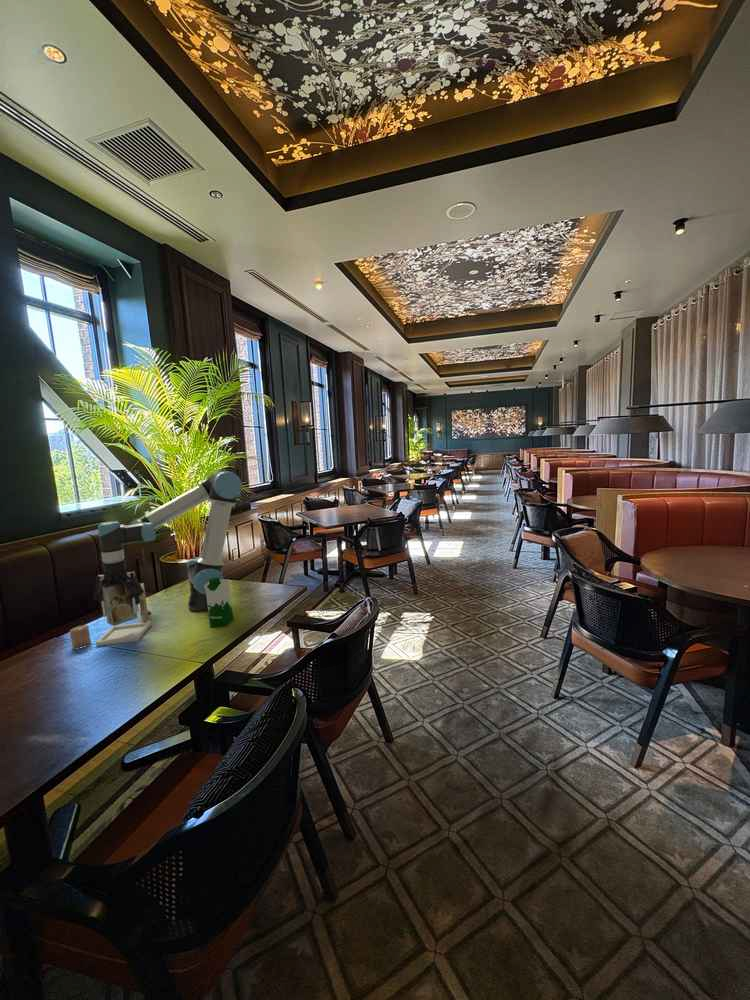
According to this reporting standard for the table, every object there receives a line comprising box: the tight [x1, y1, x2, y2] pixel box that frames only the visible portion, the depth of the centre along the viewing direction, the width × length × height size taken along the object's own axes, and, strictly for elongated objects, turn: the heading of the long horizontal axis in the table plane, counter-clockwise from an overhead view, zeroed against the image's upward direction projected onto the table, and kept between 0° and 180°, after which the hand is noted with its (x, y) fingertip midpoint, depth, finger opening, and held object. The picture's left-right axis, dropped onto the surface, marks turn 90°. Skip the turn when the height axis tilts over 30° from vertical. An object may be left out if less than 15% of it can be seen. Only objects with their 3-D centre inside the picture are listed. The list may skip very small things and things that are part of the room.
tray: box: [95, 620, 152, 647], centre depth 170 cm, size 15×15×2 cm
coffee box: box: [101, 579, 138, 627], centre depth 168 cm, size 9×6×16 cm
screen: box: [139, 582, 152, 623], centre depth 186 cm, size 4×18×14 cm, turn 28°
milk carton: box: [204, 578, 234, 628], centre depth 175 cm, size 9×9×20 cm
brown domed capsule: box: [69, 624, 92, 649], centre depth 163 cm, size 6×6×7 cm
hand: (121, 613), depth 169 cm, fingers closed on coffee box, 11 cm apart
